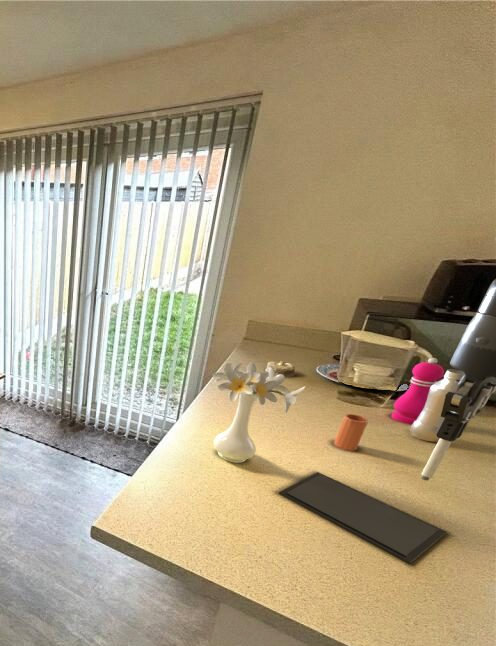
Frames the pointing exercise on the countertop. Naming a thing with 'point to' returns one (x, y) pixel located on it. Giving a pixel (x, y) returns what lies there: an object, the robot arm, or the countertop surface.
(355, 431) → the pen cup
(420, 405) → the pepper mill
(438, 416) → the plastic bottle
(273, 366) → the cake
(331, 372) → the ceramic plate
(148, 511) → the countertop surface
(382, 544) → the tablet
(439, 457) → the stylus
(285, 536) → the countertop surface
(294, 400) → the flower vase
